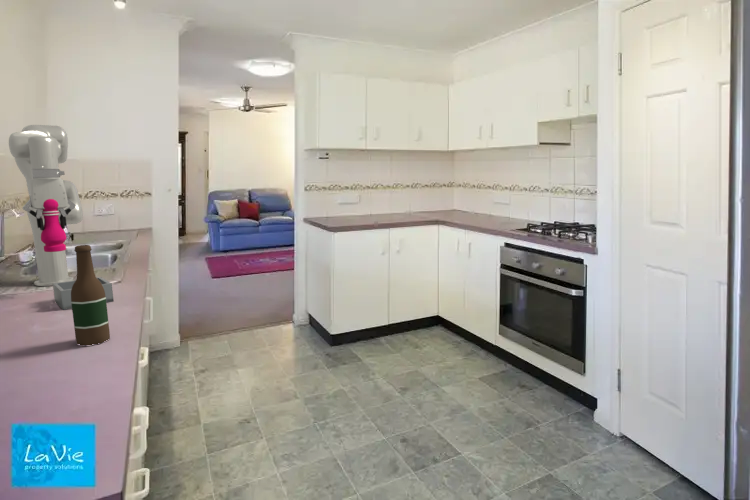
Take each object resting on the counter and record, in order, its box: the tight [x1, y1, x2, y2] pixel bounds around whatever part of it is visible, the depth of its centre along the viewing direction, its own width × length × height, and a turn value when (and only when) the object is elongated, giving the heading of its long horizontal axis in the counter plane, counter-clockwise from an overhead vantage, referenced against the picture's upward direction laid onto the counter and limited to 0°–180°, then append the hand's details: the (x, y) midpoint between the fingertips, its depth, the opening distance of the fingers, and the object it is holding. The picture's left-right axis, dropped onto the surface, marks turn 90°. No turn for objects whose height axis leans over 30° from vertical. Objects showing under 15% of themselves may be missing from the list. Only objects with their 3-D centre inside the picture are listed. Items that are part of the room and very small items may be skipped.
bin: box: [52, 276, 114, 311], centre depth 155 cm, size 14×14×6 cm
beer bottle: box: [71, 244, 111, 346], centre depth 116 cm, size 8×8×24 cm
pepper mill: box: [41, 199, 67, 252], centre depth 160 cm, size 7×7×20 cm
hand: (52, 228), depth 160 cm, fingers closed on pepper mill, 5 cm apart
